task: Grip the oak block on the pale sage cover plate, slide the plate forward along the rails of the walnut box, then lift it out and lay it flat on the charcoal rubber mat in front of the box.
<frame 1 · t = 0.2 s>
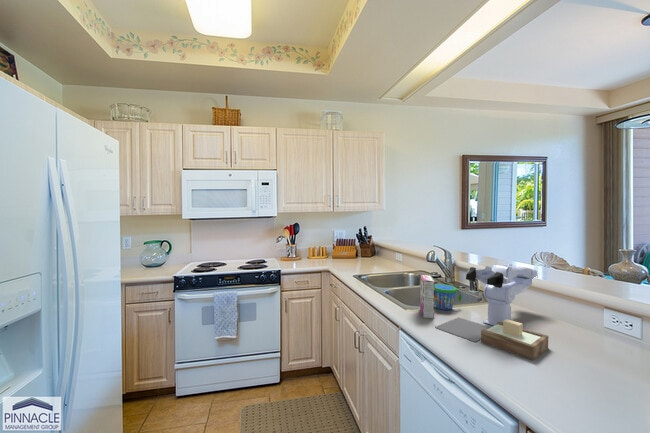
hand: (477, 279, 111), 21 cm above the worktop, tool horizontal, fingers open, 7 cm apart
charcoal mat: (466, 328, 118), on the worktop
candy bar box: (426, 314, 135), on the worktop
snack cup: (443, 308, 143), on the worktop
walnut box: (513, 344, 105), on the worktop
cover plate: (512, 335, 105), point 3 cm above the worktop, touching walnut box
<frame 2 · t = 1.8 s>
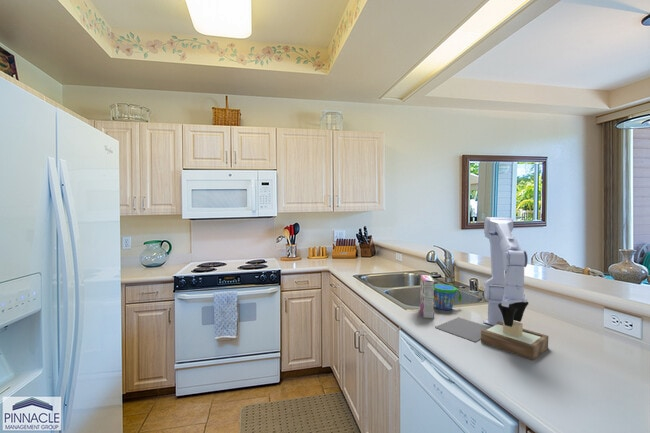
hand: (512, 323, 105), 7 cm above the worktop, tool pointing down, fingers open, 7 cm apart
nothing on the worktop moved.
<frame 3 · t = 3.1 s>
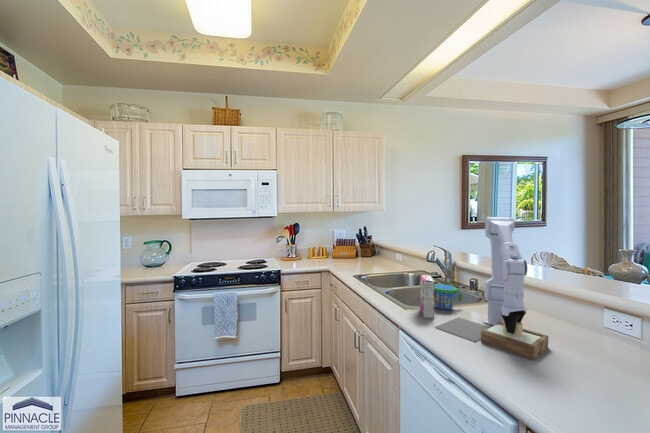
hand: (512, 331, 105), 4 cm above the worktop, tool pointing down, fingers closed on cover plate, 3 cm apart
cover plate: (512, 335, 105), point 3 cm above the worktop, touching gripper, walnut box
everything else where it was.
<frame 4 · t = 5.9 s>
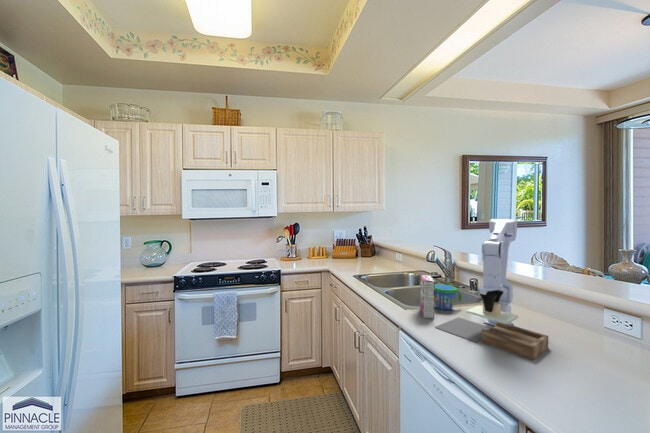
hand: (490, 310, 111), 10 cm above the worktop, tool pointing down, fingers closed on cover plate, 3 cm apart
cover plate: (491, 315, 111), point 8 cm above the worktop, touching gripper
everything else where it was.
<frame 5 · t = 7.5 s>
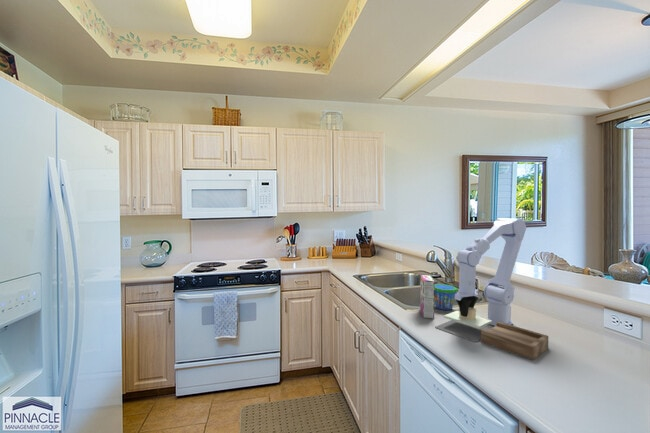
hand: (466, 315, 118), 6 cm above the worktop, tool pointing down, fingers closed on cover plate, 3 cm apart
cover plate: (467, 319, 118), point 4 cm above the worktop, touching gripper
everything else where it was.
when the fingers open (3 cm above the worktop, at t = 8.6 s): cover plate drops 1 cm, resting on charcoal mat.
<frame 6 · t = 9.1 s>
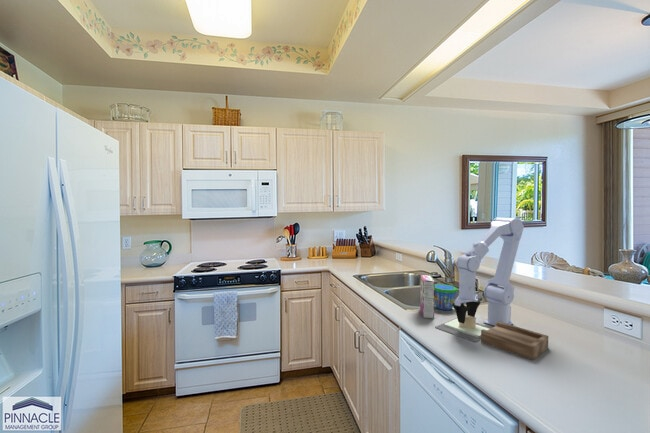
hand: (466, 320, 118), 3 cm above the worktop, tool pointing down, fingers open, 7 cm apart
cover plate: (467, 328, 118), resting on charcoal mat
everything else where it was.
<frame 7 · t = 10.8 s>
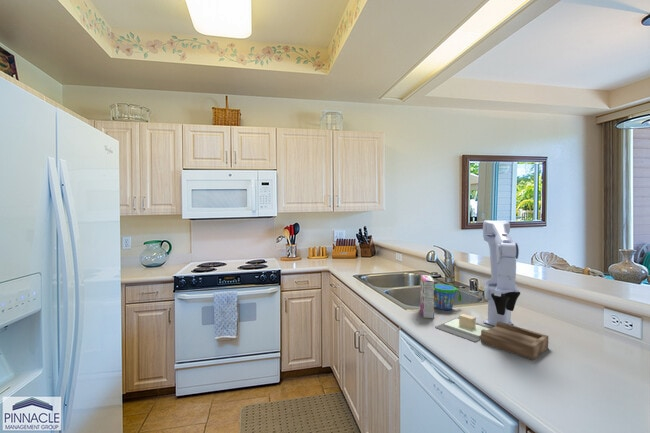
hand: (505, 312, 110), 9 cm above the worktop, tool pointing down, fingers open, 7 cm apart
nothing on the worktop moved.
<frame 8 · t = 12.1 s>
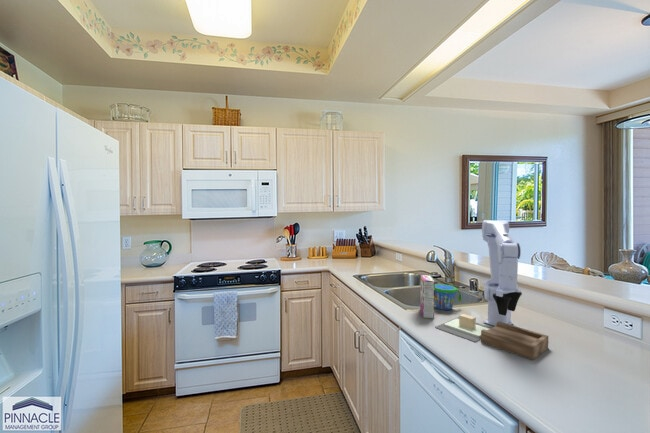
hand: (506, 312, 110), 9 cm above the worktop, tool pointing down, fingers open, 7 cm apart
nothing on the worktop moved.
at the end: cover plate inside the target area (0.5 cm from its centre), resting on charcoal mat; cover plate tilted 0°; cover plate touching charcoal mat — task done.
